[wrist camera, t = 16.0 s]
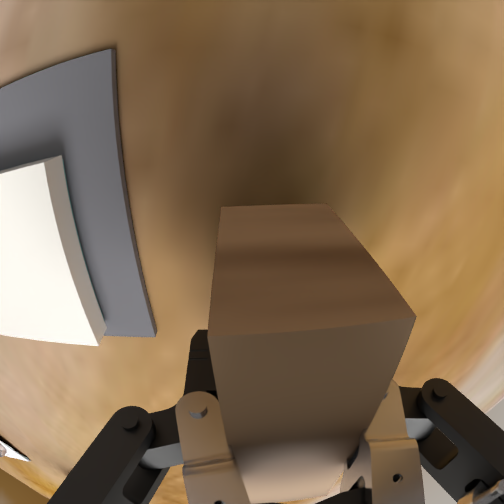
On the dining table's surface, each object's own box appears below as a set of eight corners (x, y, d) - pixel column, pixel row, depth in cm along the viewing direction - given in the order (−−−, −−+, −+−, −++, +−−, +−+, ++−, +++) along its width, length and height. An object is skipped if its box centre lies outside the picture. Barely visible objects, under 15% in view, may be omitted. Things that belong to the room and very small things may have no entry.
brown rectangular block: (221, 206, 10) (207, 336, 4) (326, 203, 10) (416, 316, 5) (237, 397, 14) (241, 504, 9) (305, 392, 14) (326, 495, 9)
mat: (-66, 129, 9) (-71, 131, 8) (115, 50, 9) (111, 48, 9) (-12, 319, 15) (-15, 323, 15) (157, 331, 16) (155, 337, 15)
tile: (-65, 196, 9) (-13, 332, 13) (44, 162, 9) (98, 346, 13) (-45, 185, 10) (0, 315, 14) (66, 153, 11) (109, 323, 15)
